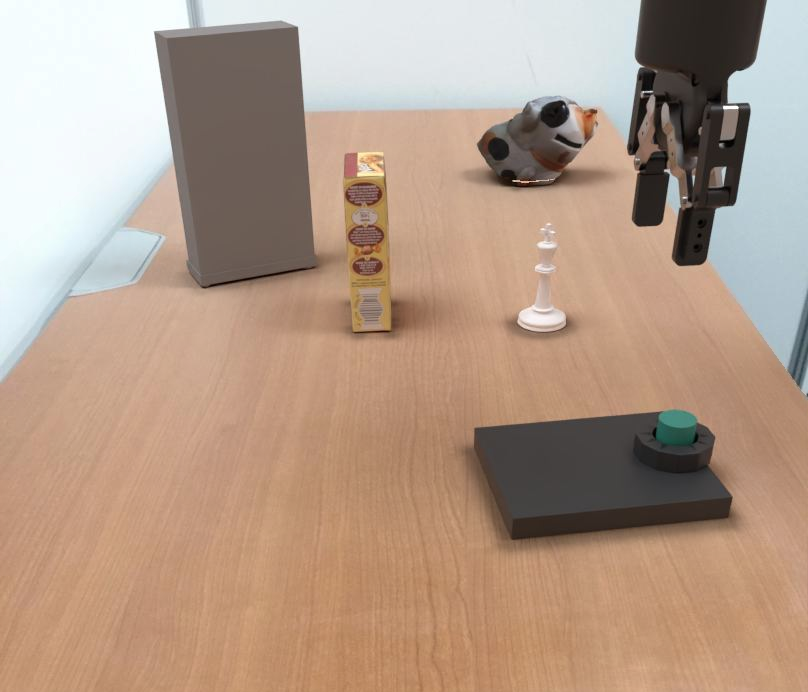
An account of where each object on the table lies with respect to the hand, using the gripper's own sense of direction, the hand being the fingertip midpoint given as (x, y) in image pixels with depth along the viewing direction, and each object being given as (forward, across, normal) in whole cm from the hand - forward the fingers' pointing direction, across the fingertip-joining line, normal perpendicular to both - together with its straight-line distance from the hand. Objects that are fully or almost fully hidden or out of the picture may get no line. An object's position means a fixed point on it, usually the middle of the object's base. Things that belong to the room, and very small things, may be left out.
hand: (666, 243), depth 68 cm
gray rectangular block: (+17, +46, +31) cm, 58 cm away
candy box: (+17, +30, +19) cm, 39 cm away
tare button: (+13, -5, -1) cm, 14 cm away
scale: (+16, -5, +5) cm, 18 cm away
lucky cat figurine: (+16, +78, -10) cm, 80 cm away
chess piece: (+17, +25, +2) cm, 30 cm away
